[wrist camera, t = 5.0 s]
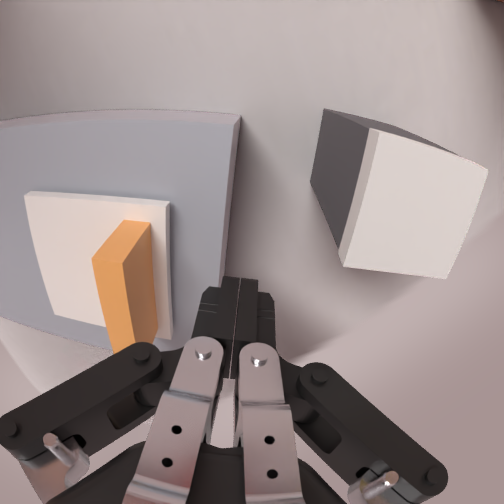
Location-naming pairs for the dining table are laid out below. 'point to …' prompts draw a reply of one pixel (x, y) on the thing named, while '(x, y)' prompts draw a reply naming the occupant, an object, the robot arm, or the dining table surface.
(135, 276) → the shutter
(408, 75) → the dining table surface
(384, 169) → the plug
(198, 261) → the socket block
